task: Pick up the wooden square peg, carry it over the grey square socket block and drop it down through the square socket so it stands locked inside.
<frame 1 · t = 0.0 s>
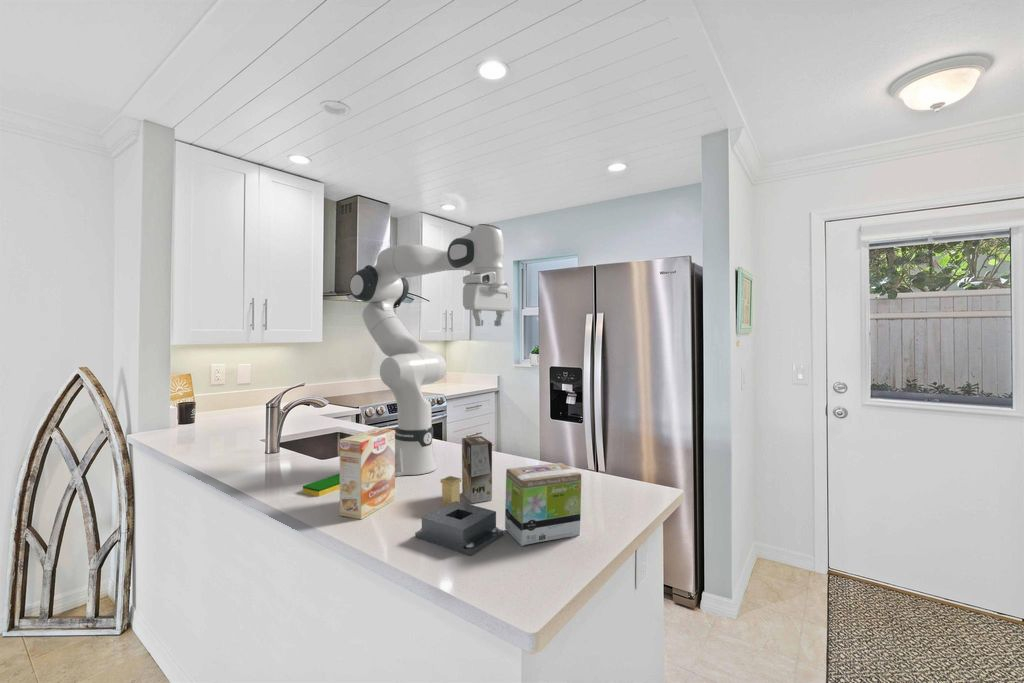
hand: (488, 326, 140), 48 cm above the counter, fingers open, 8 cm apart
grey square socket block: (459, 535, 108), on the counter
wooden square peg: (451, 509, 124), on the counter
coffee box: (476, 497, 133), on the counter
tea box: (542, 533, 110), on the counter
coffeecake box: (368, 508, 125), on the counter
dish sponge: (330, 489, 140), on the counter
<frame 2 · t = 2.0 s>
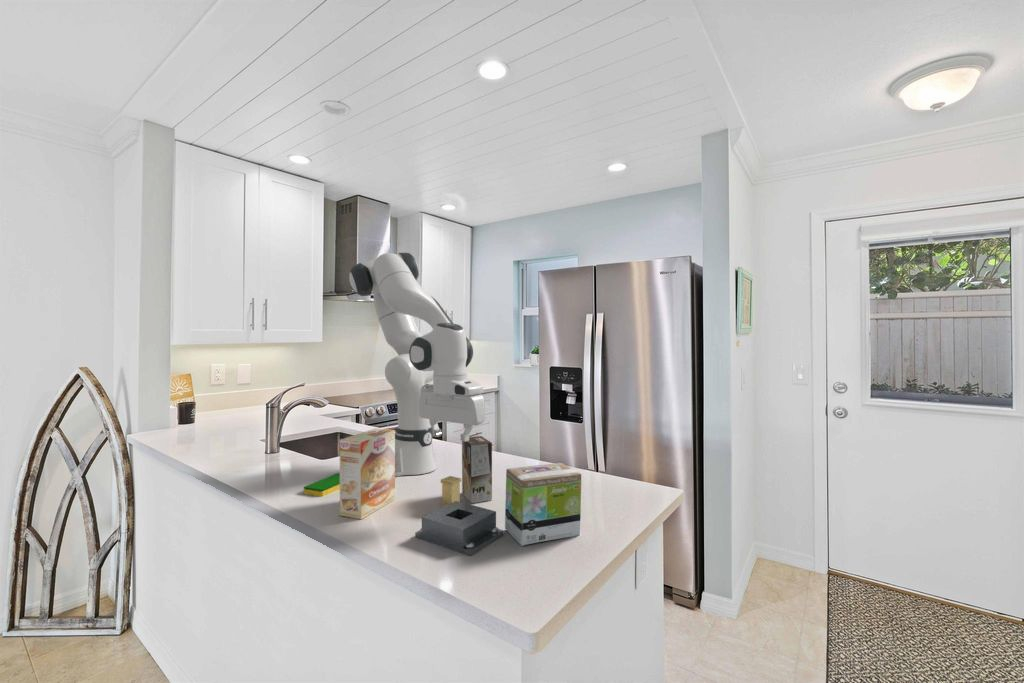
hand: (450, 438, 123), 19 cm above the counter, fingers open, 8 cm apart
nothing on the counter moved.
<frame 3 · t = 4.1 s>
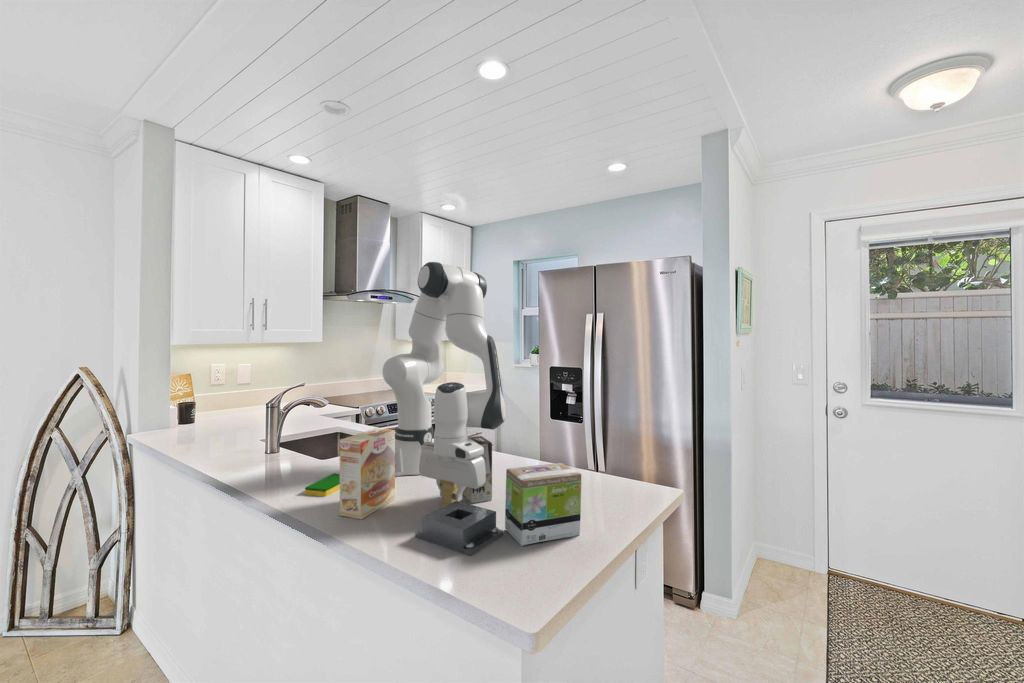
hand: (451, 498, 123), 3 cm above the counter, fingers closed on wooden square peg, 3 cm apart
wooden square peg: (450, 509, 124), on the counter, touching gripper
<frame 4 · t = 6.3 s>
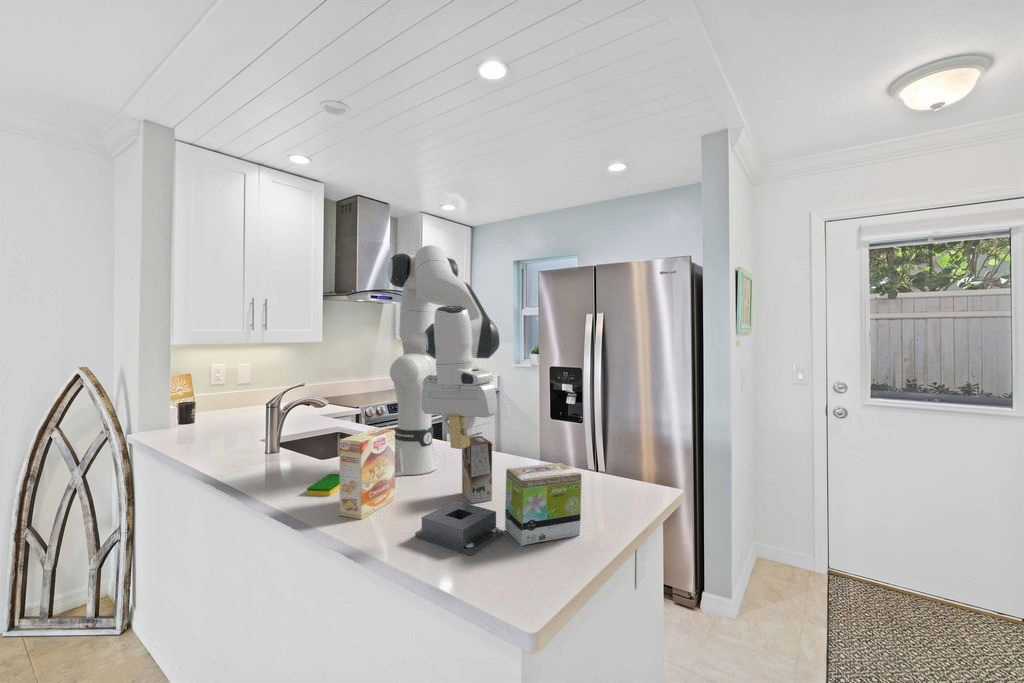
hand: (459, 434, 110), 23 cm above the counter, fingers closed on wooden square peg, 3 cm apart
wooden square peg: (460, 446, 110), point 20 cm above the counter, touching gripper
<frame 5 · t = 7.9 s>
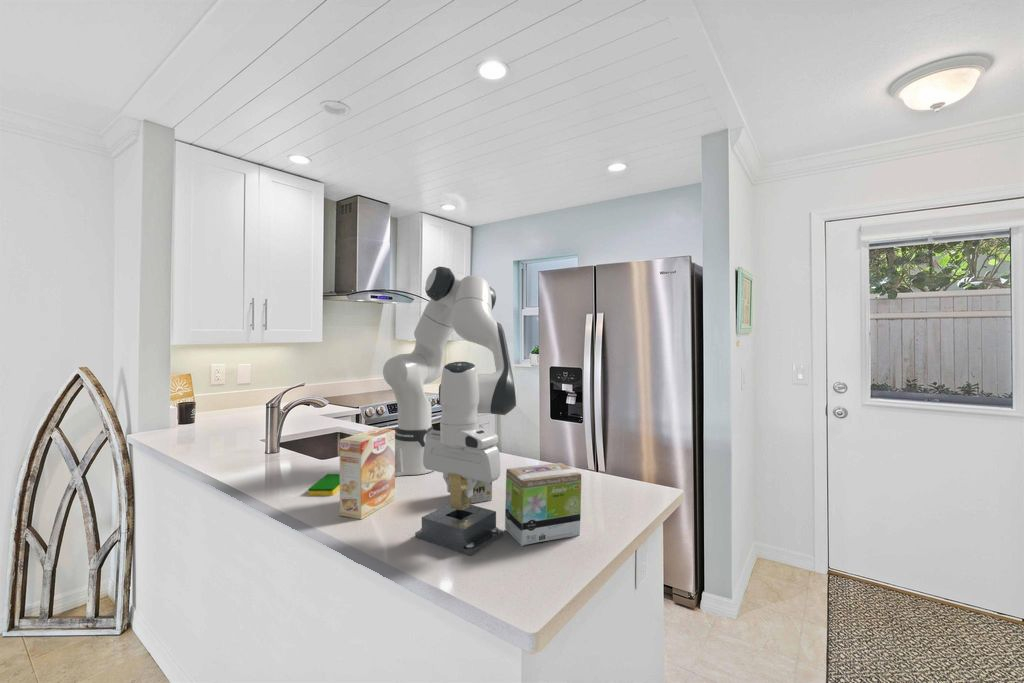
hand: (460, 494, 107), 10 cm above the counter, fingers closed on wooden square peg, 3 cm apart
wooden square peg: (460, 506, 108), point 7 cm above the counter, touching gripper
when the fingers open (6 cm above the counter, at t = 8.8 s): wooden square peg drops 2 cm, resting on grey square socket block.
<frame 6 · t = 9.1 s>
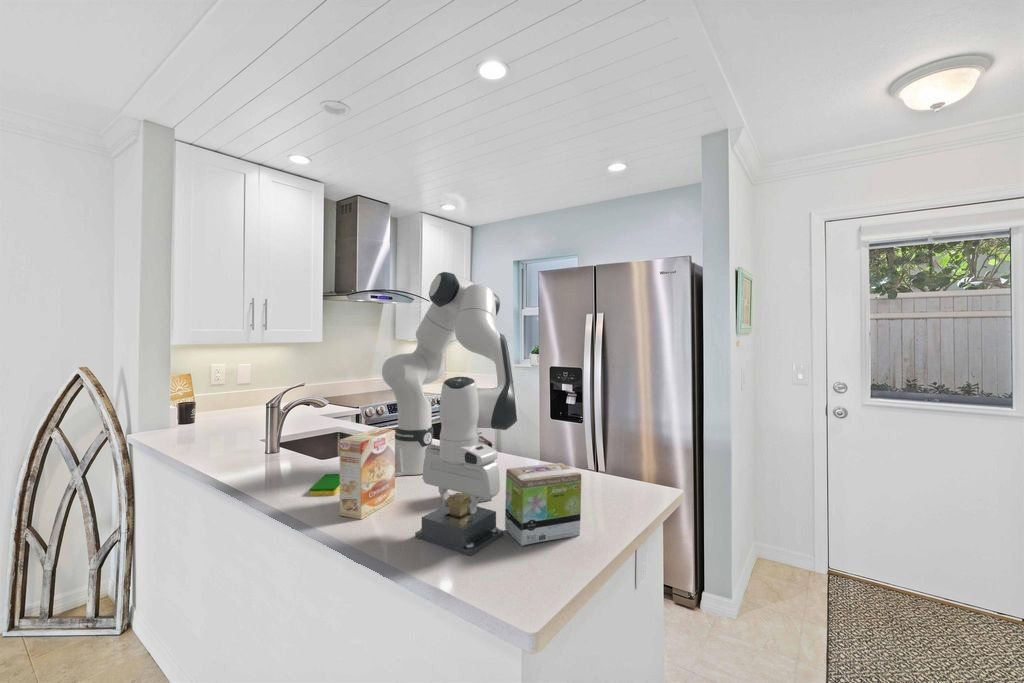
hand: (459, 509, 108), 6 cm above the counter, fingers open, 6 cm apart
wooden square peg: (459, 531, 108), point 1 cm above the counter, touching grey square socket block
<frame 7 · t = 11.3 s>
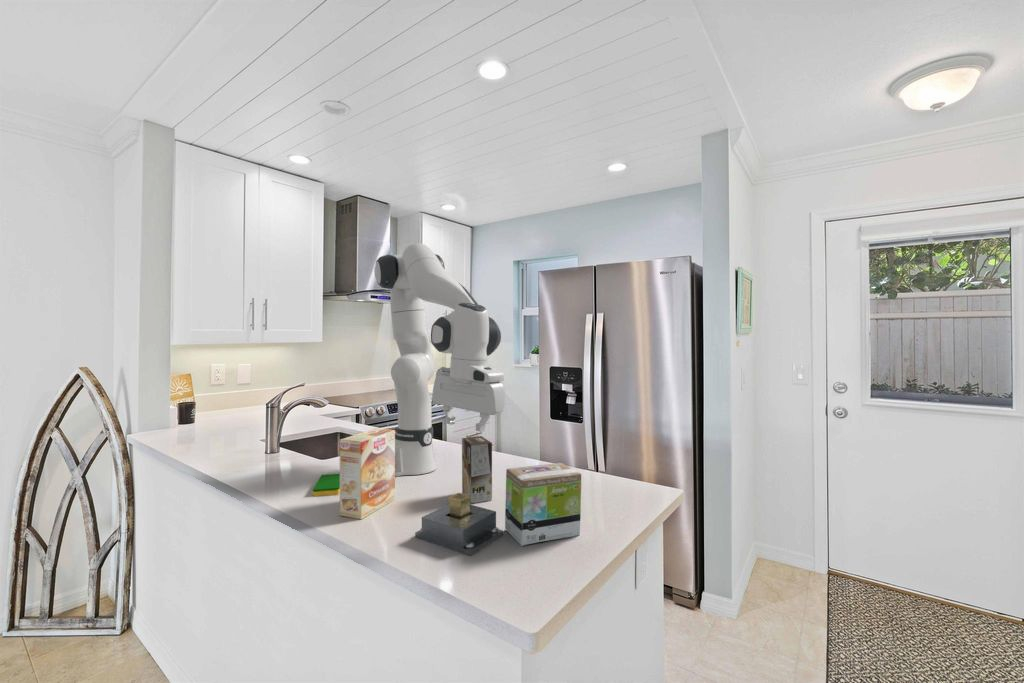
hand: (464, 427, 114), 23 cm above the counter, fingers open, 8 cm apart
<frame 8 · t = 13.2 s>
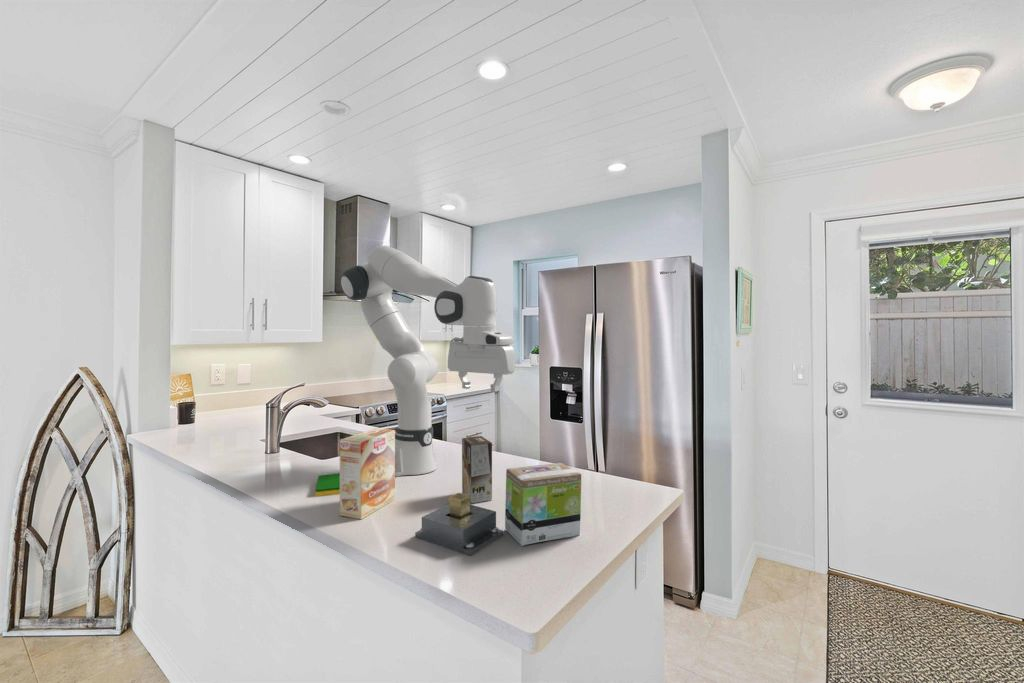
hand: (480, 389, 125), 31 cm above the counter, fingers open, 8 cm apart
at the end: wooden square peg 0.2 cm off-centre on the grey square socket block, point 1.0 cm above the grey square socket block's base; wooden square peg tilted 0°; the gripper is holding nothing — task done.
